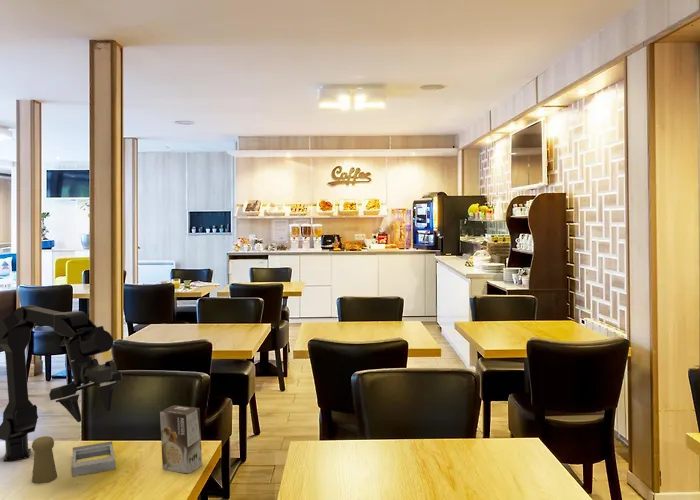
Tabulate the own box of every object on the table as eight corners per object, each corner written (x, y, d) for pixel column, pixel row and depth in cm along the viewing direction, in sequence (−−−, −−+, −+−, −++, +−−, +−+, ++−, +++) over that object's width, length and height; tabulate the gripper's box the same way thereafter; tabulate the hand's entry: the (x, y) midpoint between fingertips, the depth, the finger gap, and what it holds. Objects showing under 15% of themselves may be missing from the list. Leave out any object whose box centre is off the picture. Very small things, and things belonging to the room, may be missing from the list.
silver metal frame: (73, 455, 174) (72, 447, 174) (112, 449, 178) (112, 441, 178) (72, 476, 160) (72, 467, 159) (115, 468, 164) (115, 460, 164)
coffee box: (203, 465, 165) (201, 407, 165) (188, 474, 160) (186, 414, 159) (176, 460, 169) (174, 404, 168) (160, 469, 163) (158, 411, 162)
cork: (46, 484, 155) (44, 442, 154) (26, 483, 156) (24, 441, 155) (62, 474, 161) (60, 434, 160) (42, 473, 162) (40, 433, 161)
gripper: (70, 361, 148) (84, 423, 147) (129, 346, 164) (142, 401, 163) (41, 369, 153) (55, 429, 152) (101, 353, 169) (114, 407, 168)
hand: (94, 416), depth 159 cm, fingers open, 9 cm apart
